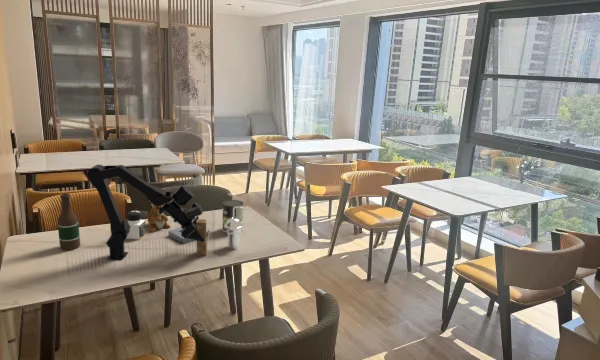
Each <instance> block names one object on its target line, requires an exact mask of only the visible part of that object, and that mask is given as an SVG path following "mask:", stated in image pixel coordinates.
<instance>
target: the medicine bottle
mask: <svg viewBox="0 0 600 360" xmlns="http://www.w3.org/2000/svg"><path fill="white" fill-rule="evenodd" d="M126 217H127V218H126V219H128V224H129V225H130V226H131V227H130V232H129V234H128V236H127V238H126V239H125V240H138V241H139V240H141V239H142V238H143V237H145V235H146V220H145V219H142V212H141V211H138V210H132V211H128V212H127V214H126Z"/></svg>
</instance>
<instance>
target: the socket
mask: <svg viewBox="0 0 600 360" xmlns="http://www.w3.org/2000/svg"><path fill="white" fill-rule="evenodd" d="M181 232H182V228H181V227H177V228H174V229H170V230H168V237H170V238H172V239H174V240H176V241H177V242H179V243H182V244H183V245H185V244H188V243H193V242H195V241H196V240H194V239H190V238H184V237H182V236H181ZM206 234H207V238H208V236H209V235H208V234H209V232H208V231H207V230H206Z"/></svg>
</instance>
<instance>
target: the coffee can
mask: <svg viewBox="0 0 600 360" xmlns="http://www.w3.org/2000/svg"><path fill="white" fill-rule="evenodd" d="M244 204H245V203H244V202H243V201H242V200H239V199H229V200H224V201H223V202H222V203H221V205H222V232H223V233H226V234H227V232H226V229H225V228H224V225H225V224H226V222H227V221H228V219H230V218H233V207H236V206H245V205H244ZM234 217H235V218H238V219H239V220H240V221H241V223H242V224H244V207H242V208H235V209H234ZM243 231H244V227H243V228H242V229H241V233H242V232H243Z"/></svg>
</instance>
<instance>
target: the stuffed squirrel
mask: <svg viewBox="0 0 600 360" xmlns="http://www.w3.org/2000/svg"><path fill="white" fill-rule="evenodd" d="M150 205H151V206H152V208H151V209H150V212H149V213H148V217H147V222H148V224H147V225H148V229H149V231H150V232H153V233H154V232H156V231H157V230H160V229H170V228H171V225H170V224H169V223H168V220H169V217H168V216H167V215H166V214H165V213H164V212H165V211H163V212H162V213H161V214H159V206H155V205H154V204H152V203H151V204H150ZM163 205H164V204H163ZM163 205H161V206H163Z"/></svg>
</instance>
